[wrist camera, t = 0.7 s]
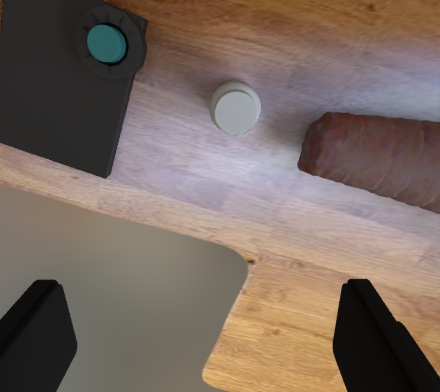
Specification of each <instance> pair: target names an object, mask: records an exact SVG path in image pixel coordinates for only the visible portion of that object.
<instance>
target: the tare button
mask: <svg viewBox="0 0 440 392" xmlns="http://www.w3.org/2000/svg"><path fill="white" fill-rule="evenodd" d="M87 45H88V48H89V50H90V52H91V54H92V55H93V56H94V57H95V58H96V59H98V60H99V61H102V62H117V61H119V60H120V59H121V58H122V57H123V56H124V54H125V51H126V42H125V39H124V37H123V35H122V34H121V33H120V32H119V31H118V30H117V29H115V28H113V27H110V26H107V25H97V26H95V27H93V28H92V29H91V30H90V32H89V34H88V37H87Z"/></svg>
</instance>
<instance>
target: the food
mask: <svg viewBox="0 0 440 392" xmlns="http://www.w3.org/2000/svg"><path fill="white" fill-rule="evenodd" d="M297 165H298V168H299V170H301V171H304V172H306V173H309V174H311V175H313V176H320V177H322V178H325V179H329V180H333V181H335V182H341V183H343V184H345V185H347V186H351V187H356V188H360V189H364V190H367V191H369V192H371V193H375V194H377V195H379V196H383V197H390V198H392V199H394V200H396V201H399V202H403V203H406V204H408V205H412V206H419V207H420V208H422V209H426V210H429V211H432V212H434V213H437V214H440V123H437V122H430V121H419V120H411V119H403V118H387V117H381V116H370V115H354V114H350V113H339V112H334V113H332V112H327V113H325V114H324V115H323V116H322V117H321V118H320V119H319V120H317V121H315V122H313V123H311V124H310V125H309V128H308V130H307V132H306V134H305V138H304V142H303V144H302V151H301V154H300V157H299V161H298V164H297Z"/></svg>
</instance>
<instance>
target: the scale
mask: <svg viewBox="0 0 440 392" xmlns="http://www.w3.org/2000/svg"><path fill="white" fill-rule="evenodd" d="M147 23H148V21H147V20H146V19H144V18H141V17H139V16H137V15H134V14H132V13H129V12H127V11H124V10H122V9H119V8H117V7H115V6H112V5H110V4H107V3H105V2H102V1H100V0H3V7H2V19H1V31H0V143H2V144H5V145H8V146H11V147H14V148H17V149H20V150H23V151H26V152H29V153H32V154H35V155H37V156H40V157H43V158H46V159H49V160H52V161H55V162H58V163H61V164H64V165H67V166H70V167H73V168H76V169H79V170H81V171H84V172H87V173H90V174H93V175H96V176H99V177H102V178H105V179H106V178H107V177H108V176H109V175H110V174H111V170H112V166H113V161H114V157H115V153H116V149H117V145H118V141H119V137H120V133H121V129H122V125H123V121H124V117H125V113H126V109H127V105H128V101H129V97H130V92H131V88H132V84H133V80H134V76H135V73H136V72H137V71H138V70H139V69H140V68H141V67H142V66H143V64H144V60H145V56H146V52H147V46H146V41H145V37H144V36H145V32H146V28H147ZM97 25H107V26H110V27H113V28H115V29H117V30H118V31H119V32H120V33H121V34H122V35H123V37H124V39H125V42H126V51H125V54H124V56H123V57H122V58H121V59H120V60H119V61H117V62H102V61H99V60H98V59H96V58H95V57H94V56H93V55H92V54H91V52H90V50H89V48H88V45H87V37H88V34H89V32H90V30H91V29H92V28H93V27H95V26H97Z"/></svg>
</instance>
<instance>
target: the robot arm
mask: <svg viewBox="0 0 440 392" xmlns="http://www.w3.org/2000/svg"><path fill="white" fill-rule="evenodd" d="M76 351H77V340H76V336H75V332H74V329H73V325H72V321H71V317H70V313H69V309H68V306H67V301H66V298H65V294H64V290H63V287H62V285H61V284H58V282H57V281H56V280H36V281H35V282H33V284H32V285H31V286H30V287H29V288H28V289H27V291H25V292H24V294H23V295H22V296H21V297H20V298H19V299H18V300H17V301H16V303H15V304H14V305H13V306H12V307H11V308H10V309H9V311H8V312H7V313H6V314H5V315H4V316H3V317H2V319H0V392H56V391H57V389H58V387H59V385H60V383H61V381H62V379H63V377H64V375H65V373H66V372H67V370H68V368H69V366H70V364H71V362H72V360H73V358H74V356H75V354H76ZM333 353H334V357H335V359H336V362H337V365H338V367H339V370H340V373H341V375H342V378H343V381H344V384H345V386H346V389H347V392H440V377H439V375H438V374H437V373H436V371H435V370H434V368H433V367H432V365H431V364H430V362H429V361H428V359H427V358H426V356H425V355H424V354H423V352H422V351H421V349H420V348H419V346H418V345H417V343H416V342H415V340H414V339H413V338H412V336H411V335H410V333H409V332H408V330H407V329H406V327H405V326H404V325H403V324H402V323H401V322H399V321H396V320H395V318H394V317H393V315H392V314H391V312H390V311H389V309H388V308H387V306H386V305H385V303H384V302H383V300H382V299H381V297H380V296H379V294H378V293H377V291H376V290H375V288H374V287H373V285H372V284H371V282H370V281H369V280H368V279H349V280H348V282H347V283H344V284H343V285H342V289H341V295H340V301H339V308H338V314H337V320H336V326H335V332H334V338H333Z"/></svg>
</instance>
